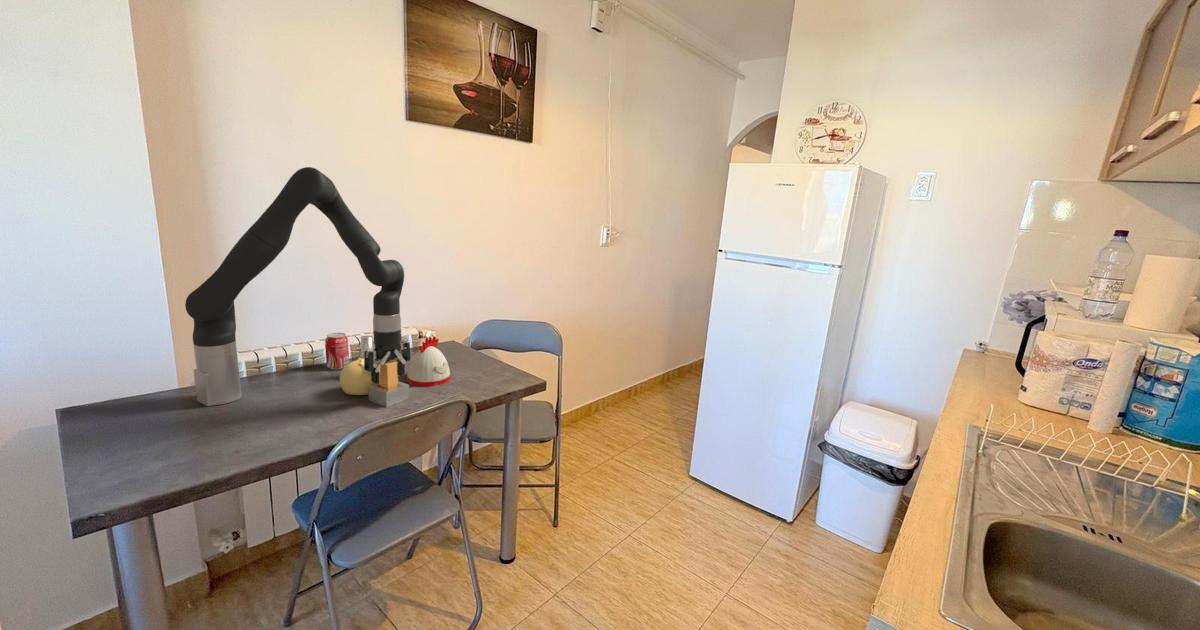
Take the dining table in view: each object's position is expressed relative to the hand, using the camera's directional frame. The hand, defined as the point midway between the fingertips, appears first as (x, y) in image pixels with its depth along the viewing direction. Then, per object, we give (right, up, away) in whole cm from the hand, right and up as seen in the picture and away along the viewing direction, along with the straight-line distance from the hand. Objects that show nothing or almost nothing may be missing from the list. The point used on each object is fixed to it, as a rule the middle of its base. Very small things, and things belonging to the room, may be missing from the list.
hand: (388, 379), depth 140 cm
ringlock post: (-15, -1, +18) cm, 23 cm away
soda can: (-29, +1, +24) cm, 37 cm away
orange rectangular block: (-1, -6, +1) cm, 7 cm away
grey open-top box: (0, -6, +1) cm, 7 cm away
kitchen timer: (+5, -3, +20) cm, 21 cm away
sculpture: (-11, -5, +5) cm, 13 cm away
